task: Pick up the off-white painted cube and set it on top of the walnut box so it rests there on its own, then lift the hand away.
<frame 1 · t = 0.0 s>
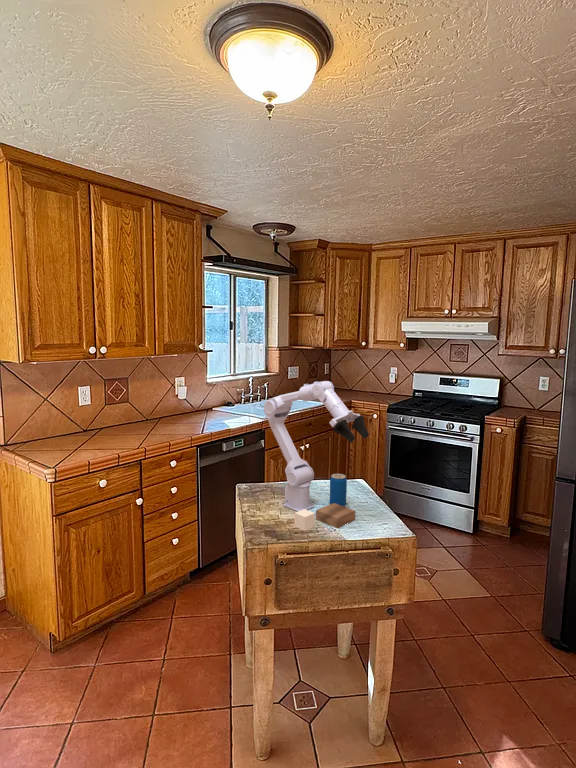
hand: (360, 438, 151), 32 cm above the table, tool tilted 50°, fingers open, 7 cm apart
beverage can: (337, 506, 177), on the table
walnut box: (335, 520, 164), on the table
cube: (304, 526, 158), on the table
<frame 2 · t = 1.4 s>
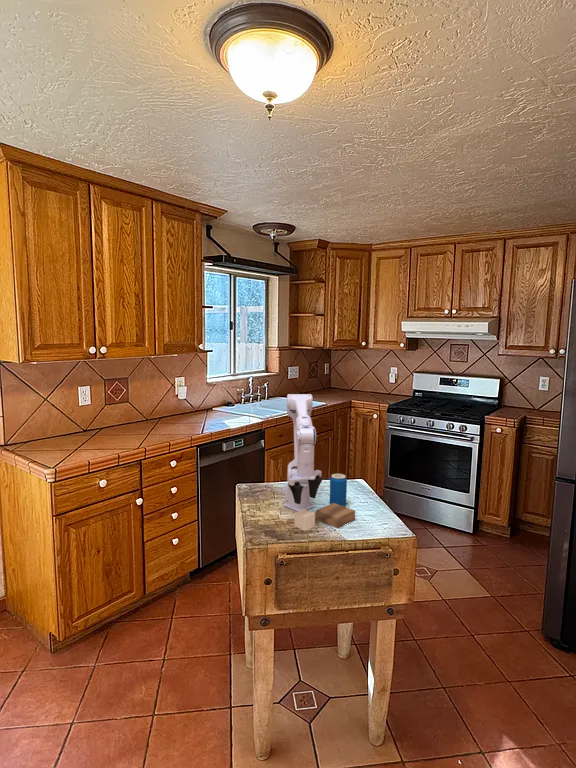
hand: (305, 500, 157), 9 cm above the table, tool pointing down, fingers open, 7 cm apart
nothing on the table moved.
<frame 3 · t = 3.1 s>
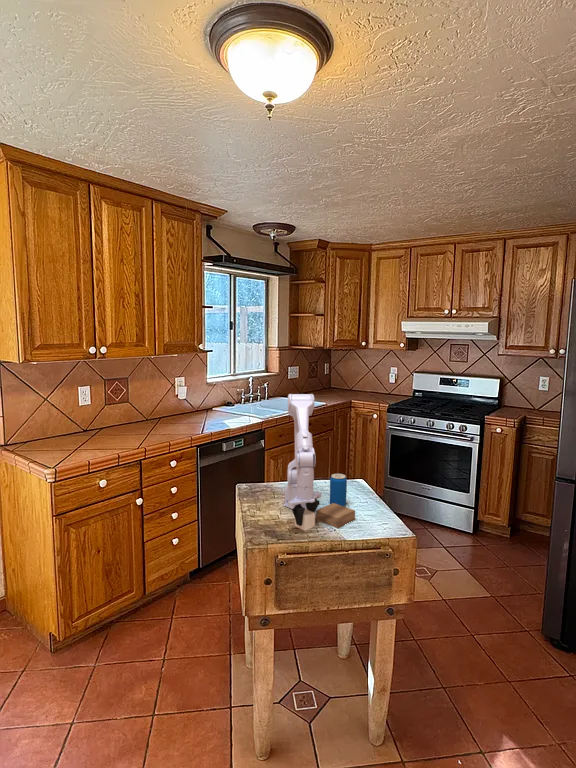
hand: (304, 522, 158), 1 cm above the table, tool pointing down, fingers closed on cube, 5 cm apart
cube: (304, 526, 158), on the table, touching gripper
everything else where it was.
when the fingers open (6 cm above the table, at t = 6.5 s): cube drops 1 cm, point 4 cm above the table.
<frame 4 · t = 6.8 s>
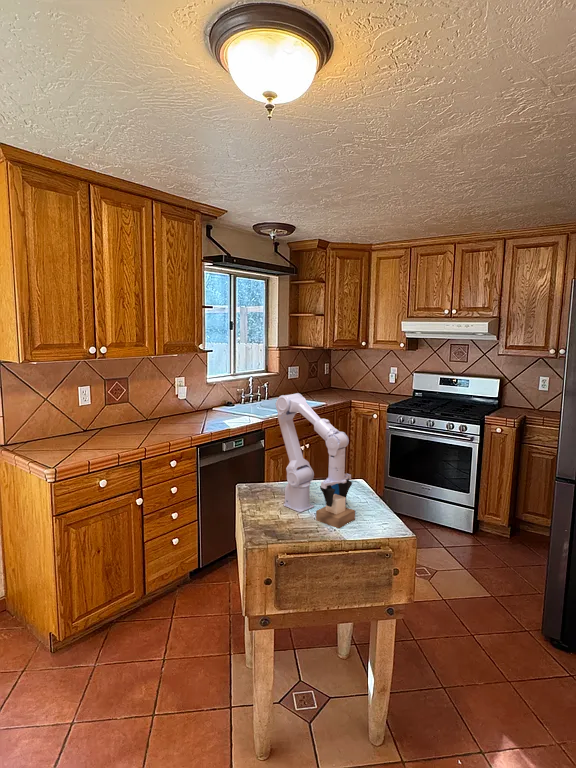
hand: (335, 502, 163), 6 cm above the table, tool pointing down, fingers open, 7 cm apart
cube: (335, 510, 163), point 4 cm above the table
everything else where it was.
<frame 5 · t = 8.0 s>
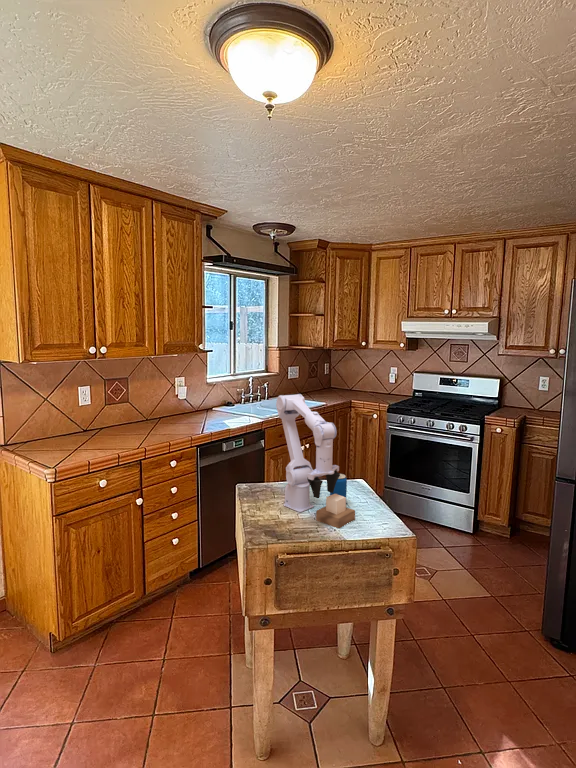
hand: (323, 494, 160), 10 cm above the table, tool pointing down, fingers open, 7 cm apart
nothing on the table moved.
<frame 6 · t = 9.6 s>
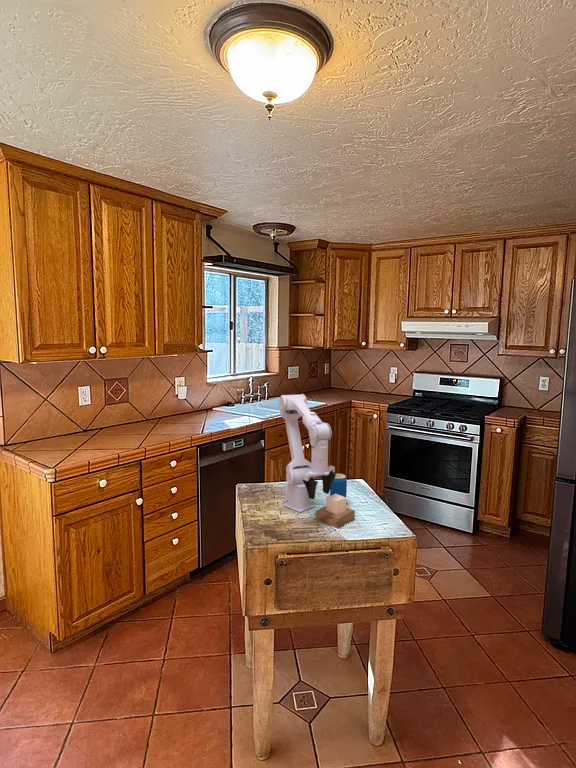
hand: (318, 495, 159), 10 cm above the table, tool pointing down, fingers open, 7 cm apart
walnut box: (335, 521, 164), on the table, touching cube
cube: (336, 510, 163), point 4 cm above the table, touching walnut box
everything else where it was.
at the end: cube 0.2 cm off-centre on the walnut box, point 4.0 cm above the walnut box's base; the gripper is holding nothing; cube tilted 0° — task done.
